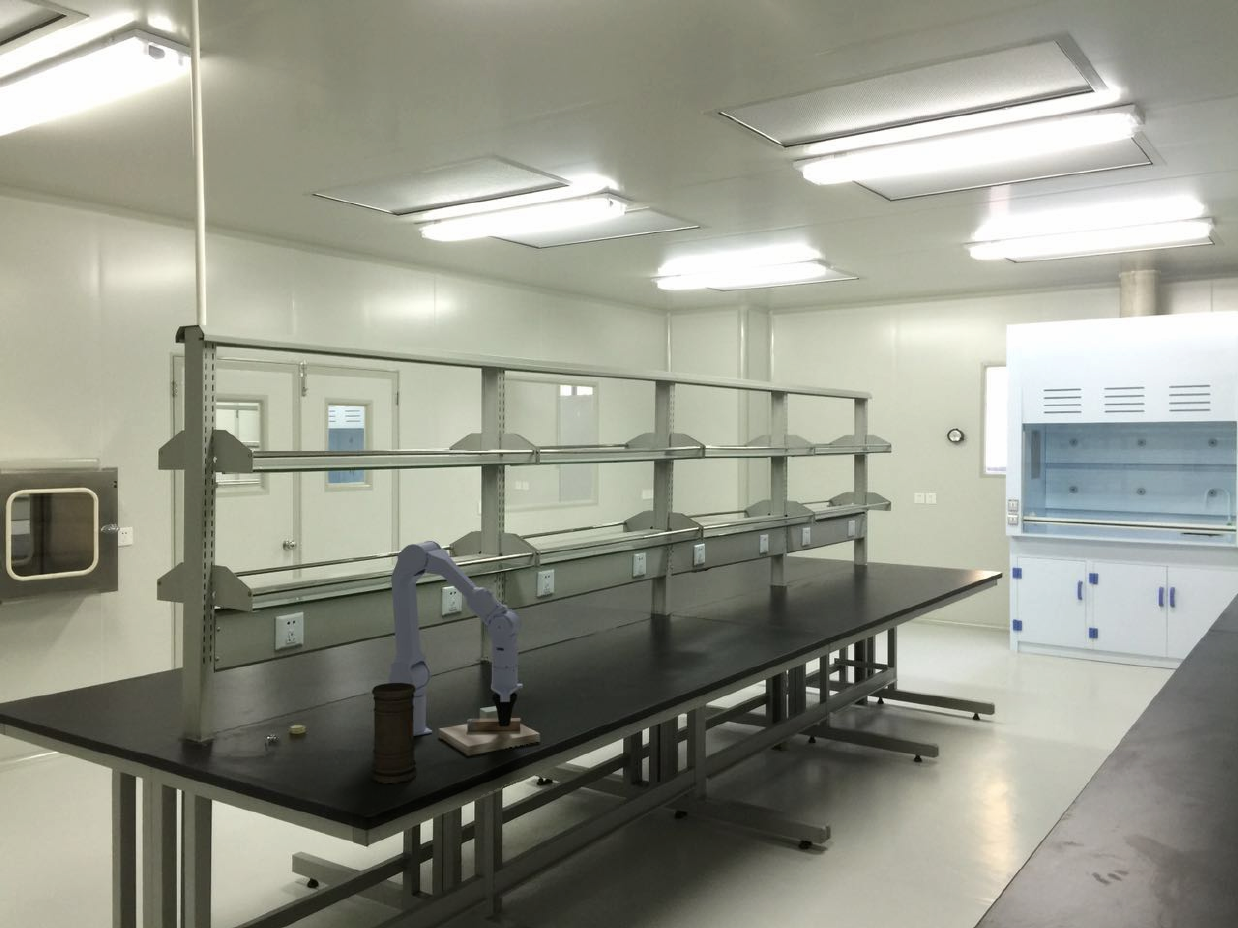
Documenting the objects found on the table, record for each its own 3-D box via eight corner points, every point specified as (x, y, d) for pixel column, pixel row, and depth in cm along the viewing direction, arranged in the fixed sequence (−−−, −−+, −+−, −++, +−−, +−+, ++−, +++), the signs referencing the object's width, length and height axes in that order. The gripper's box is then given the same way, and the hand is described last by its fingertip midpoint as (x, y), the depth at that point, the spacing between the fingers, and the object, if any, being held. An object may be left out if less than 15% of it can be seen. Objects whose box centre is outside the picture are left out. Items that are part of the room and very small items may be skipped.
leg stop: (486, 725, 227) (486, 712, 227) (479, 722, 230) (479, 708, 230) (509, 721, 231) (509, 708, 231) (502, 718, 234) (502, 704, 234)
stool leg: (466, 730, 222) (466, 722, 222) (467, 727, 225) (467, 718, 225) (520, 729, 223) (520, 721, 223) (520, 726, 226) (520, 717, 226)
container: (388, 787, 193) (388, 695, 192) (362, 776, 199) (362, 687, 198) (426, 775, 199) (426, 686, 199) (399, 765, 205) (399, 679, 205)
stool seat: (468, 755, 212) (468, 746, 212) (438, 737, 225) (438, 728, 225) (539, 742, 222) (539, 733, 222) (507, 725, 235) (508, 717, 235)
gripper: (523, 672, 216) (523, 734, 216) (521, 658, 230) (521, 716, 231) (491, 673, 215) (490, 735, 215) (490, 658, 229) (490, 717, 230)
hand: (504, 725), depth 223 cm, fingers closed, pressing on stool leg
